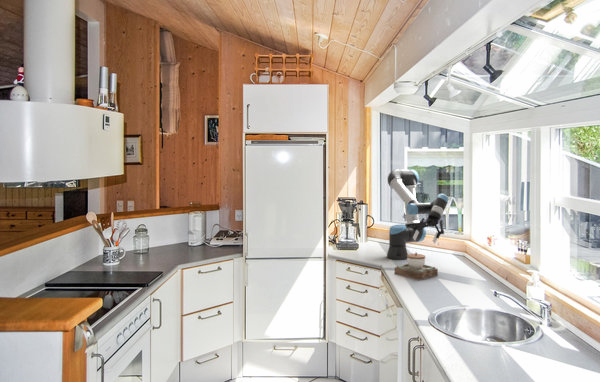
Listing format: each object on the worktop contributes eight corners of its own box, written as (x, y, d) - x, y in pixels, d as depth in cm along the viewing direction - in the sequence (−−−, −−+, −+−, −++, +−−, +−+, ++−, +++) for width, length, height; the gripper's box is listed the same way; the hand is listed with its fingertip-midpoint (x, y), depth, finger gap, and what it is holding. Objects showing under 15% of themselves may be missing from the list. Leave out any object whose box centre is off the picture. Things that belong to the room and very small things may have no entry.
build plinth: (413, 269, 273) (413, 261, 273) (437, 275, 259) (437, 267, 259) (394, 273, 263) (394, 265, 263) (418, 280, 248) (418, 271, 248)
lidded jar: (425, 270, 254) (426, 254, 254) (407, 269, 256) (407, 254, 256) (424, 266, 265) (424, 251, 264) (406, 265, 267) (406, 250, 266)
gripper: (416, 209, 283) (403, 234, 274) (452, 212, 266) (440, 239, 256) (420, 216, 287) (408, 241, 278) (456, 219, 270) (444, 246, 260)
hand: (423, 240), depth 267 cm, fingers open, 13 cm apart
